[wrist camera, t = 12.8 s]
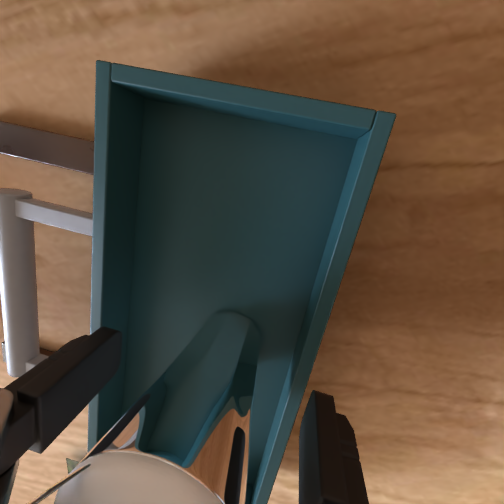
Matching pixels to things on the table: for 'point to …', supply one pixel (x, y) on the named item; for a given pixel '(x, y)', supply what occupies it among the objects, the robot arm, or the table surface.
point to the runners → (46, 155)
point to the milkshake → (180, 429)
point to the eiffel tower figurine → (71, 464)
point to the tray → (205, 235)
